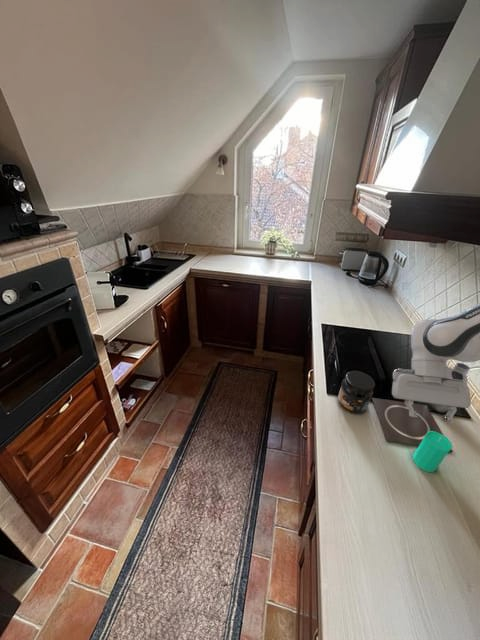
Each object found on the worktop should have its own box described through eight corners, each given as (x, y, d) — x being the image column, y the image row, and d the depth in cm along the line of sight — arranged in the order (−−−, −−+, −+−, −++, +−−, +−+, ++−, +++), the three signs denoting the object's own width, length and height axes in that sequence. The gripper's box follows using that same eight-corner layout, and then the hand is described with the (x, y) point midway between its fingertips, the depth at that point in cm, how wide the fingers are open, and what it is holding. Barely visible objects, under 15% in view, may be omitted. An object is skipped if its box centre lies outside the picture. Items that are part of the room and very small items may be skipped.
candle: (407, 456, 77) (423, 430, 71) (421, 449, 79) (438, 424, 73) (426, 475, 72) (444, 450, 66) (440, 468, 74) (460, 443, 68)
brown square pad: (425, 406, 94) (426, 405, 93) (451, 452, 78) (452, 450, 78) (371, 398, 96) (371, 397, 96) (386, 441, 81) (387, 440, 80)
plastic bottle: (452, 412, 92) (480, 370, 81) (439, 417, 89) (467, 375, 79) (434, 399, 97) (459, 358, 87) (422, 403, 94) (446, 362, 84)
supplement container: (330, 397, 96) (337, 373, 90) (351, 389, 100) (360, 366, 94) (351, 419, 88) (360, 394, 82) (373, 410, 92) (383, 385, 85)
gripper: (397, 366, 76) (398, 414, 73) (472, 376, 73) (476, 426, 70) (388, 368, 82) (388, 412, 79) (457, 377, 80) (460, 423, 76)
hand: (430, 419), depth 75 cm, fingers open, 8 cm apart
